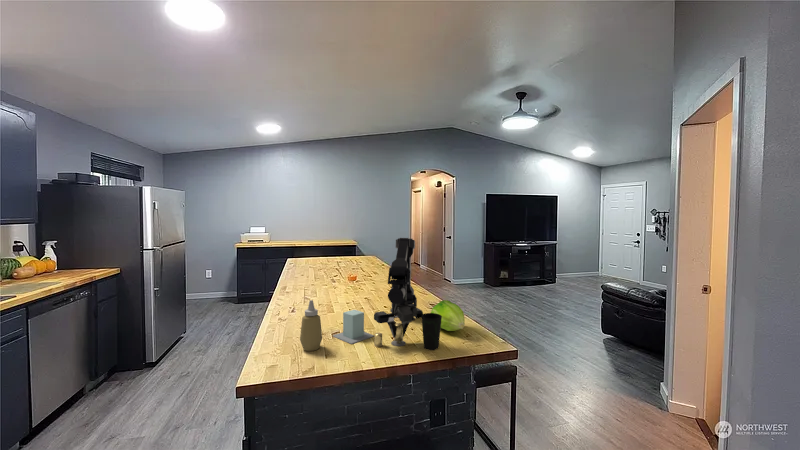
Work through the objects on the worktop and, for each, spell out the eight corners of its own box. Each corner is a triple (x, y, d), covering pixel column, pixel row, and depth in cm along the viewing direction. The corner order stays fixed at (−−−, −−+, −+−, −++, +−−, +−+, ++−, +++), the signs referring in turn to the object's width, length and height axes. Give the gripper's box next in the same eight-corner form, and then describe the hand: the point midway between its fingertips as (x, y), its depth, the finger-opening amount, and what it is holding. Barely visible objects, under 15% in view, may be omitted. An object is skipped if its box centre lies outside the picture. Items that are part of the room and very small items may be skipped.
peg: (400, 337, 136) (400, 322, 136) (404, 340, 133) (404, 325, 133) (392, 339, 135) (393, 323, 134) (396, 342, 132) (396, 326, 131)
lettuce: (444, 341, 136) (445, 311, 136) (426, 325, 156) (427, 299, 155) (476, 338, 140) (476, 309, 140) (454, 322, 160) (455, 297, 159)
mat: (355, 329, 149) (355, 328, 149) (374, 336, 141) (374, 335, 141) (332, 336, 141) (332, 335, 141) (351, 344, 132) (351, 343, 132)
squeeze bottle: (310, 354, 123) (310, 304, 122) (295, 349, 127) (295, 301, 126) (326, 347, 129) (327, 299, 129) (311, 342, 134) (311, 296, 133)
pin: (380, 343, 134) (380, 332, 133) (383, 346, 131) (383, 334, 131) (373, 344, 132) (373, 333, 132) (375, 347, 130) (376, 335, 129)
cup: (443, 344, 133) (443, 314, 133) (438, 352, 126) (439, 319, 125) (423, 342, 135) (424, 312, 135) (418, 349, 128) (418, 317, 128)
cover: (354, 331, 145) (354, 309, 145) (363, 335, 141) (364, 312, 141) (343, 335, 141) (343, 312, 140) (352, 339, 137) (352, 315, 136)
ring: (402, 340, 138) (402, 339, 138) (408, 345, 132) (408, 344, 132) (389, 342, 135) (389, 341, 135) (394, 347, 130) (394, 346, 130)
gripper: (384, 304, 122) (383, 348, 123) (430, 299, 130) (429, 340, 130) (373, 297, 132) (373, 337, 133) (416, 293, 140) (416, 331, 140)
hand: (398, 336), depth 134 cm, fingers closed on peg, 3 cm apart
